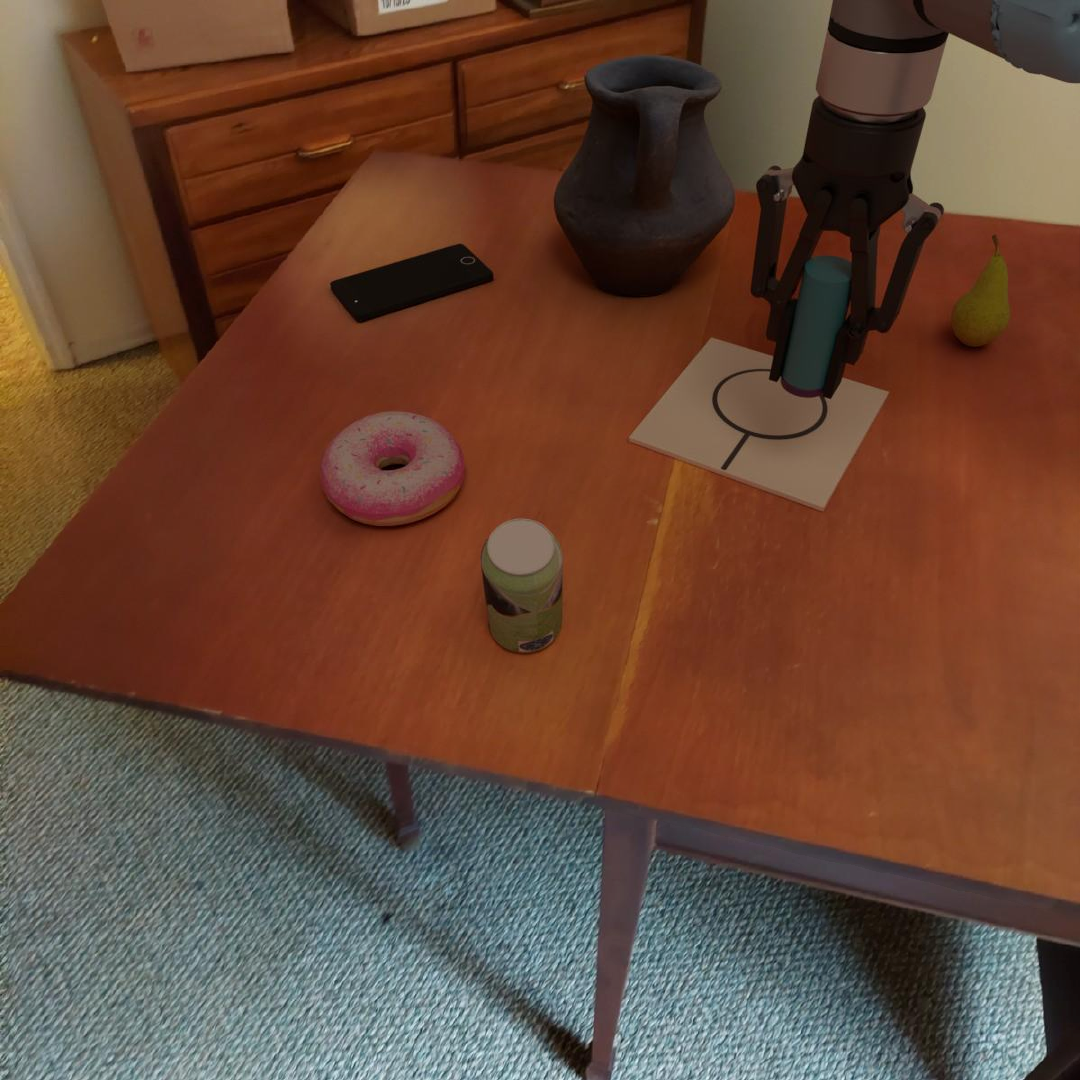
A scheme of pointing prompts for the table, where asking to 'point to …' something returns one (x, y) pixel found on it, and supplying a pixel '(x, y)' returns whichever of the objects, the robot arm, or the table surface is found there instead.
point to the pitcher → (644, 175)
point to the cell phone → (410, 281)
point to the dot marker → (816, 324)
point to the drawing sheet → (759, 425)
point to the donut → (398, 492)
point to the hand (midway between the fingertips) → (804, 380)
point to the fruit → (984, 305)
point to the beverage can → (523, 585)
